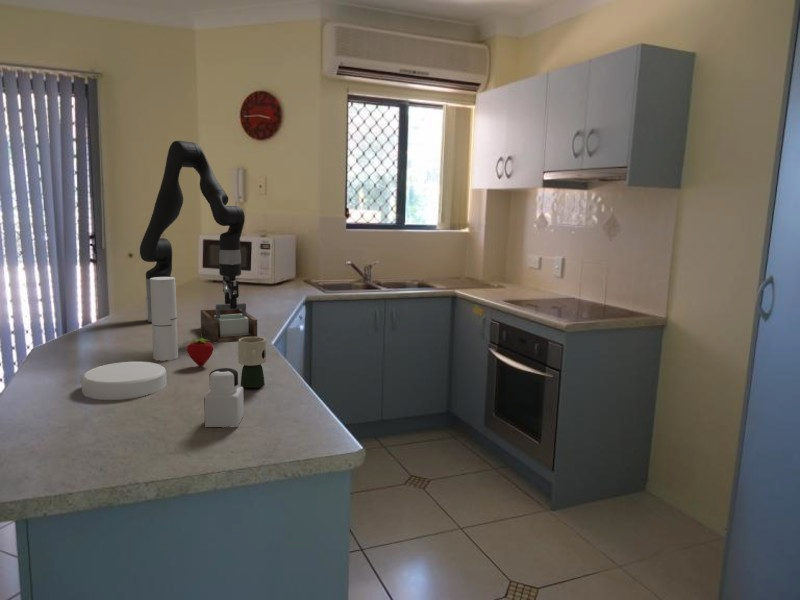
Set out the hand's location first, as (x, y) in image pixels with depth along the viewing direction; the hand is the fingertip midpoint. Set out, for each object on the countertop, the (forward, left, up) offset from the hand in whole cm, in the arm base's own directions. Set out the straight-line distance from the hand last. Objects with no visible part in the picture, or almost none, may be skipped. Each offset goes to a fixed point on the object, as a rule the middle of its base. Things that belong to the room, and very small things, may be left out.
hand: (230, 306), depth 207 cm
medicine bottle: (-20, -83, -11) cm, 86 cm away
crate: (0, 0, -10) cm, 10 cm away
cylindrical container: (-25, -22, -11) cm, 35 cm away
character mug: (-8, -61, -11) cm, 62 cm away
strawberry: (-17, -36, -11) cm, 41 cm away
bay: (0, +5, -11) cm, 12 cm away
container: (-38, -48, -12) cm, 62 cm away
